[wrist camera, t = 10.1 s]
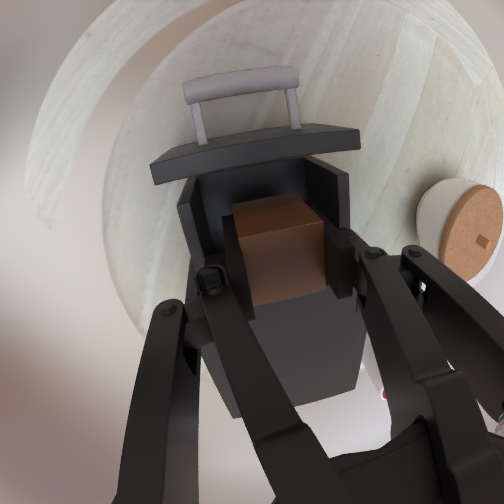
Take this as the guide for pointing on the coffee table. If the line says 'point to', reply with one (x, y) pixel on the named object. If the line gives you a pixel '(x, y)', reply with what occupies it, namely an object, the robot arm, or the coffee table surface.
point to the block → (280, 247)
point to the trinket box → (460, 224)
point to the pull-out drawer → (252, 161)
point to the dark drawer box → (300, 345)
